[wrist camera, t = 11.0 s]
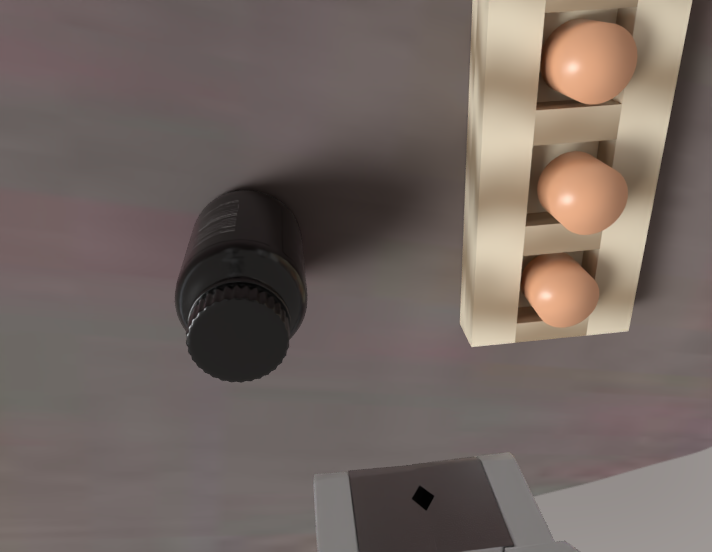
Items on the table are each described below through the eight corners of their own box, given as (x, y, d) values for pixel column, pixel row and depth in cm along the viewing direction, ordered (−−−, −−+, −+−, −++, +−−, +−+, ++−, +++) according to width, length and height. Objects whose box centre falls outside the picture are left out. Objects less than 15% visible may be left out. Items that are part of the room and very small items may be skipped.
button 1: (522, 253, 39) (540, 274, 36) (582, 248, 39) (603, 268, 37) (517, 306, 41) (534, 330, 38) (574, 301, 41) (594, 324, 38)
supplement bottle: (196, 284, 39) (164, 400, 29) (191, 184, 36) (153, 274, 26) (301, 286, 40) (307, 400, 30) (305, 189, 37) (313, 277, 27)
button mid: (540, 153, 35) (561, 169, 32) (606, 148, 35) (633, 163, 32) (534, 218, 36) (553, 237, 34) (597, 212, 37) (621, 231, 34)
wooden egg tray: (473, -18, 33) (489, -17, 30) (665, -29, 34) (697, -28, 31) (459, 323, 43) (471, 346, 40) (607, 309, 44) (628, 331, 41)
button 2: (543, 20, 32) (566, 25, 30) (614, 16, 33) (643, 20, 30) (536, 96, 34) (557, 107, 32) (604, 91, 35) (630, 101, 32)
